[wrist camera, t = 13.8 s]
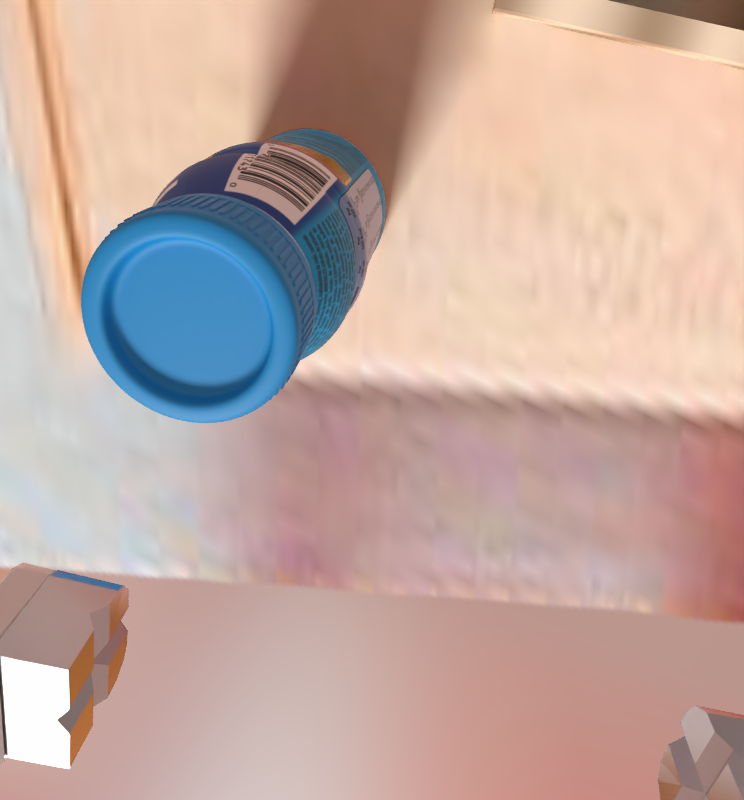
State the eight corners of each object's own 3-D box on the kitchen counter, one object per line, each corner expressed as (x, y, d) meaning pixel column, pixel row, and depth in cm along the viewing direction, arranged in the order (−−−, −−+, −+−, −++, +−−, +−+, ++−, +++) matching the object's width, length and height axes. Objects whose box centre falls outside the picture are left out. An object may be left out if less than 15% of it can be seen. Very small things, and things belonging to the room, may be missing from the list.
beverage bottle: (414, 246, 39) (377, 398, 21) (282, 304, 41) (145, 486, 23) (348, 95, 36) (238, 119, 18) (210, 166, 38) (-12, 251, 20)
